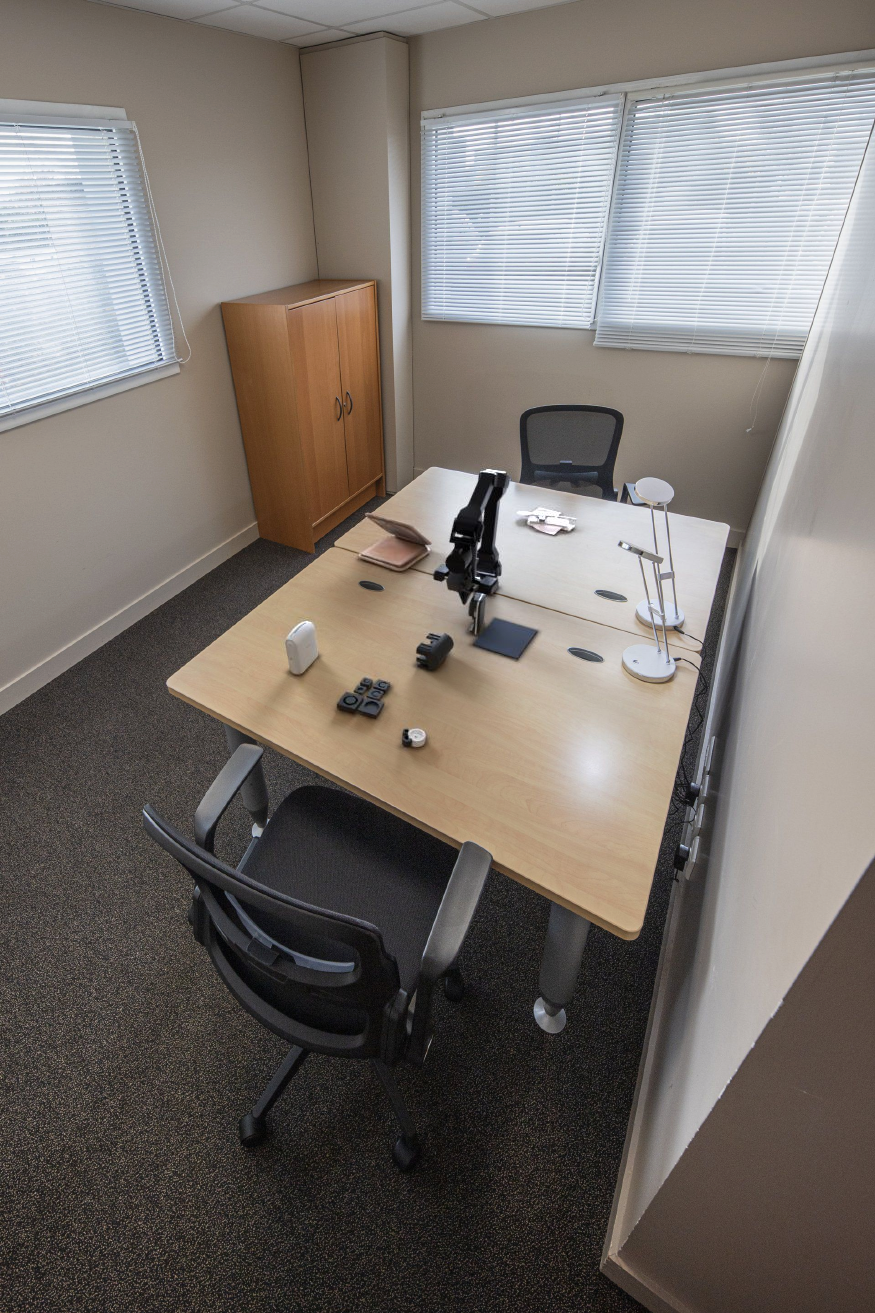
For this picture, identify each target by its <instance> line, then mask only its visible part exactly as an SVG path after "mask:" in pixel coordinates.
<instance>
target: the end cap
mask: <svg viewBox="0 0 875 1313" xmlns="http://www.w3.org/2000/svg"><path fill="white" fill-rule="evenodd" d="M425 639H427V640H430V642H429V643H424V642H420V643H419V644H418V645H417V647H416V649H415V654H416V655H420V656H416V658H415V662H417V663H416V666H417V667H418V668H421V669H425V670H428V671H432V670H436V669H438V667H439V666H440V665H441V664H442V662H443V661H444V660H445V659H446V658H447V657H448V655H449V654H450V652H451V651H452V650H453V649H454V647H455V642H454V639H453V638H452V636H450V634H448V633H446V632H443V634H442V635H441V634H438V633H434V632H429V633H428V635H426V637H425Z"/></svg>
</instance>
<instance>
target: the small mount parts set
mask: <svg viewBox="0 0 875 1313" xmlns="http://www.w3.org/2000/svg"><path fill="white" fill-rule="evenodd" d="M372 685H373V686H372ZM390 687H391V681H387V680H383V679H380V678H378V679H377V680H376V681H375V683H374V679H373V678H368V677H365V676H363V677H362V679H361V680H360V681H359V684H358V685H356V687H355V688H354V689H353V693H352V692H349V691H345V693H344V694H343V695H342V696H341V697H340V699H339V700H338V701H337V703H336V709H338V710H341V711H344V712H348V713H350V714H354V715H355V714H356V713H358V714H361V715H364V716H368V717H371V718H375V719H376V718H377V717H378V716H379V714H380V713H381V712H382V710H383V708H384V707H385V702H383V701H380V699H381V698H382V697H383V695H384V694H386V693H387V692H388V690H389V689H390ZM367 690H369V691H368V692H367V694H366V695H365V697H364V694H365V693H366V691H367ZM364 698H365V699H364ZM401 733H402V734H401V736H402V737H401V745H402V746H403V747H405V748H410V747H414V748H419V747H420V748H421V747H422V746H424V744H425V743H426V732H425V731H424V730H423V729H421V728H412V729H409V728H403V729H402V732H401Z"/></svg>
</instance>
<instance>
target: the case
mask: <svg viewBox="0 0 875 1313" xmlns="http://www.w3.org/2000/svg"><path fill="white" fill-rule="evenodd" d="M364 515H365V516H366V518H367V519H368V520H369V521H371V522H372V523H374V524H375V525H377V526H378V527H380V528H381V529H382V530H384V531H385V532H386V533H388V534H390V535H387V536H385V537H382V538H381V539H380V540H378V541H376V542H375V543H373V544H372V545H370V546H368V547H367V548H365V549H364V550H362V551H361V552H359V553H358V558H359V559H361V560H363V561H366V562H369V563H371V564H375V565H378V566H380V567H383V568H387V569H389V570H392V571H395V572H404V571H407V570H408V569H409V568H410V567H412V566H413V565H414V564H416V563H417V562H419V561H420V560H421V559H422V558H423V559H424V557H426V556H427V555H429V554H430V552H431V549H430V548H429V546H432V544H433V543H432V541H431V540H430V539H428V538H427V537H426V536H425V535H424V534H422V532H420V531H419V530H418V529H417V528H415V526H413V525H412V524H410V523H406V522H403V521H400V520H396V519H393V518H390V517H385V516H381V515H378V514H376V513H375V514H374V513H370V512H366V513H365V514H364Z"/></svg>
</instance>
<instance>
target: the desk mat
mask: <svg viewBox="0 0 875 1313" xmlns="http://www.w3.org/2000/svg"><path fill="white" fill-rule="evenodd" d="M537 633H538V629H535V628H531V627H527V626H524V625H521V624H517V623H515V622H512V621H508V620H504V619H500V618H497V617H494V618H493V619H492V621H491V622H490V623H489V624H488V625H487V627H486V628H485V629H484V630H483V631H482V632H481V634H479V636H477V638H476V639H475V641H473V643H472V646H474V647H477V648H480V649H484V650H487V651H490V652H493V653H496V654H500V655H502V656H505V657H510V658H512V659H514V660H518V659H519V657H520V656H521V655H522V653H523V652H524V650H525V649H527V646H528V645H529V644H530V642H531V641H532V639H533V638H534V636H535V635H536V634H537Z"/></svg>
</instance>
